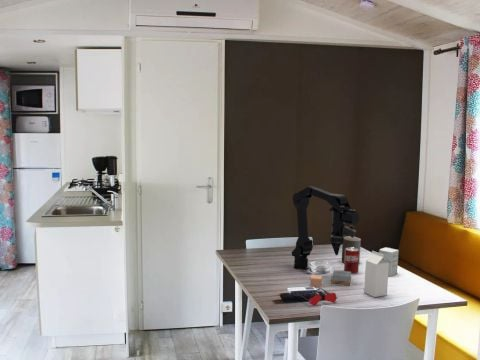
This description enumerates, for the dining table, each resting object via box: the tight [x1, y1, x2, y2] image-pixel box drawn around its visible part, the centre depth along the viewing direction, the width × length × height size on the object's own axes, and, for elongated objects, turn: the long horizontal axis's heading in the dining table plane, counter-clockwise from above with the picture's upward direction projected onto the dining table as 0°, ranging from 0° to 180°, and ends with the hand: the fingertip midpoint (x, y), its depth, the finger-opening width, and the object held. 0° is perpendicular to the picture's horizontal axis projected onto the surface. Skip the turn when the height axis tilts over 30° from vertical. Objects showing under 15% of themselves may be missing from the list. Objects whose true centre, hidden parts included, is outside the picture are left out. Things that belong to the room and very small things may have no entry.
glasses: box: [296, 287, 338, 307], centre depth 217 cm, size 14×16×5 cm
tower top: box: [331, 269, 352, 282], centre depth 239 cm, size 8×8×2 cm
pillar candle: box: [341, 235, 362, 265], centre depth 271 cm, size 10×10×15 cm
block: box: [309, 274, 323, 288], centre depth 234 cm, size 5×5×4 cm
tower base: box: [330, 276, 352, 287], centre depth 239 cm, size 9×9×2 cm
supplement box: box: [378, 246, 400, 277], centre depth 253 cm, size 7×7×13 cm
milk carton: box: [363, 250, 389, 298], centre depth 222 cm, size 7×7×19 cm
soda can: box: [343, 248, 360, 275], centre depth 255 cm, size 7×7×12 cm
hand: (336, 252), depth 242 cm, fingers open, 9 cm apart
